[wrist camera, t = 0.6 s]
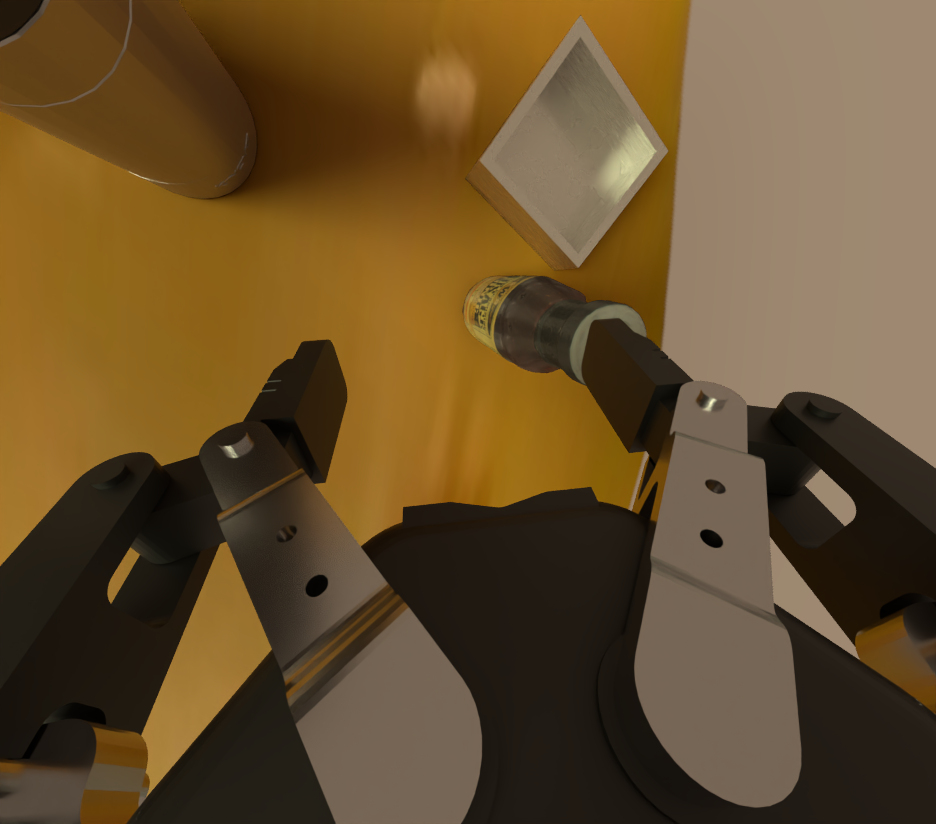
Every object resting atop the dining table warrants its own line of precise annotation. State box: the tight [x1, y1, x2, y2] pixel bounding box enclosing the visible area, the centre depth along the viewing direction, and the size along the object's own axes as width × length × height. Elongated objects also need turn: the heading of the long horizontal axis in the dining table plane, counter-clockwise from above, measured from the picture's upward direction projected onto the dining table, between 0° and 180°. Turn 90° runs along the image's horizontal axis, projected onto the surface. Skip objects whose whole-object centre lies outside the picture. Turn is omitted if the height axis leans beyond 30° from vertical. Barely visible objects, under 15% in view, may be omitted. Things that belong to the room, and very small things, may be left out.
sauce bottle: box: [462, 276, 646, 385], centre depth 25 cm, size 6×6×20 cm
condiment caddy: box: [465, 15, 668, 271], centre depth 29 cm, size 12×12×4 cm
